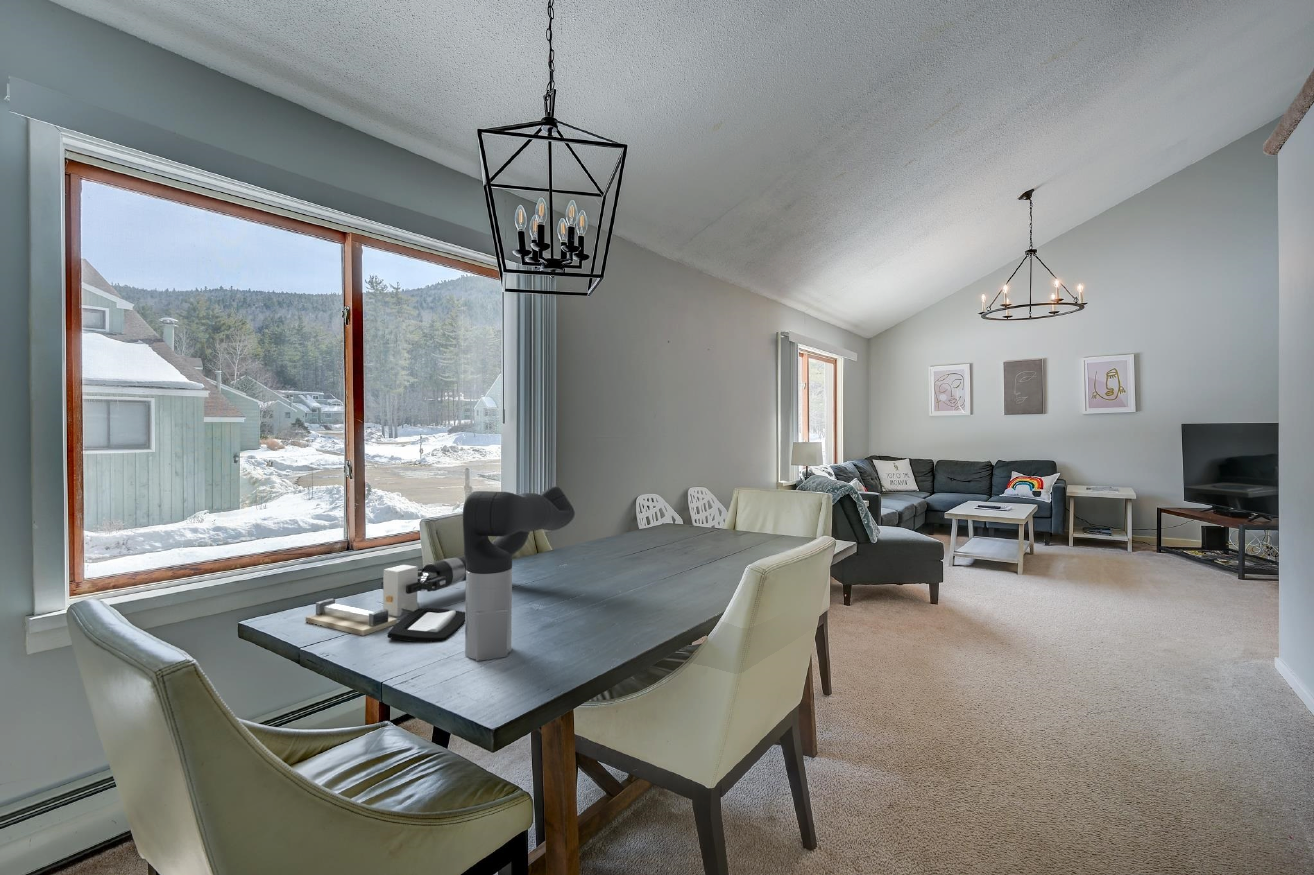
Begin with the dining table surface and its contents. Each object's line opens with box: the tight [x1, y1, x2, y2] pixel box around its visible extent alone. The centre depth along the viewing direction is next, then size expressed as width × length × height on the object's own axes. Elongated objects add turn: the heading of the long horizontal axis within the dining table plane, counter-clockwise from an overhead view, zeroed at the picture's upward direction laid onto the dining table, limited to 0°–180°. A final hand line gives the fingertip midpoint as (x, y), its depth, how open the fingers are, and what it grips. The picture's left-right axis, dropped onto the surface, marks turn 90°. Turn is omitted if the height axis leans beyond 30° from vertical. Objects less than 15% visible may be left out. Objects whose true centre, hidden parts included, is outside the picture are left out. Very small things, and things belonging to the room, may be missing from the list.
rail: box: [315, 598, 389, 627], centre depth 136 cm, size 20×4×3 cm, turn 65°
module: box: [382, 564, 419, 617], centre depth 145 cm, size 5×7×11 cm
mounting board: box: [305, 613, 398, 637], centre depth 136 cm, size 20×9×1 cm, turn 65°
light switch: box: [387, 607, 466, 643], centre depth 134 cm, size 20×3×14 cm
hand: (394, 587), depth 143 cm, fingers open, 8 cm apart
